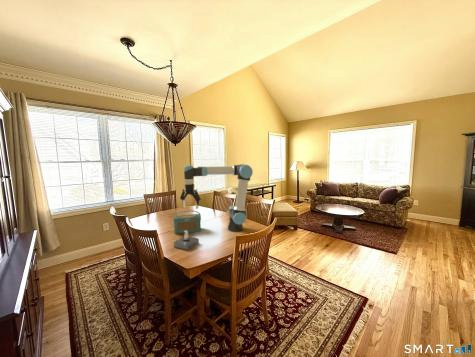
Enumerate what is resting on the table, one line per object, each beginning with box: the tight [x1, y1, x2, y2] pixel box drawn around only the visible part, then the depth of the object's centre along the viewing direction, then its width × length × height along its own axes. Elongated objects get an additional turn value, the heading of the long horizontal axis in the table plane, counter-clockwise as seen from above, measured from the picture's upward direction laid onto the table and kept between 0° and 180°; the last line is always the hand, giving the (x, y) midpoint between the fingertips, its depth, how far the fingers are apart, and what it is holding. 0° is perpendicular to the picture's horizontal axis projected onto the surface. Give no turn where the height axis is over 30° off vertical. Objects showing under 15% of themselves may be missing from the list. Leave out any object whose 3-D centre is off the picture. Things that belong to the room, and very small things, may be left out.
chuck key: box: [182, 230, 190, 242], centre depth 163 cm, size 3×6×12 cm, turn 153°
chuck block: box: [173, 235, 200, 251], centre depth 163 cm, size 14×14×4 cm
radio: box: [173, 210, 202, 235], centre depth 193 cm, size 26×11×20 cm, turn 102°
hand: (190, 208), depth 172 cm, fingers open, 13 cm apart
